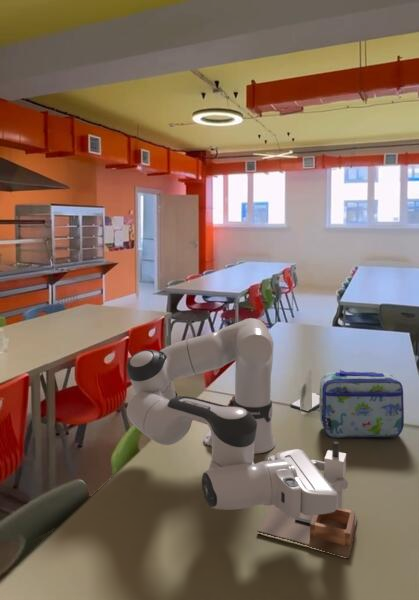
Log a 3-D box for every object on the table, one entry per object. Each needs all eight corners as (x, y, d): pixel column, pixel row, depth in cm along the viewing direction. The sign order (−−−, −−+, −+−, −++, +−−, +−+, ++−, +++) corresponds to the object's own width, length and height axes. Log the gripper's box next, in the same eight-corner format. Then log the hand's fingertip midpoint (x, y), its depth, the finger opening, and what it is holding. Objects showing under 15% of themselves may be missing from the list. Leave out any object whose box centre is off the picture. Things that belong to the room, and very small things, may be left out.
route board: (257, 534, 106) (257, 518, 105) (274, 500, 119) (274, 486, 118) (348, 559, 98) (349, 542, 98) (357, 520, 111) (357, 504, 110)
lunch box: (320, 439, 151) (322, 377, 148) (316, 425, 162) (318, 366, 158) (404, 442, 149) (408, 379, 145) (394, 427, 159) (398, 368, 155)
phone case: (309, 414, 172) (331, 401, 183) (309, 410, 172) (331, 397, 183) (288, 408, 178) (311, 395, 189) (288, 404, 178) (311, 391, 189)
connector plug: (322, 504, 104) (325, 445, 101) (326, 494, 107) (328, 437, 105) (341, 508, 102) (344, 448, 100) (344, 499, 106) (346, 440, 103)
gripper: (263, 470, 112) (318, 463, 114) (295, 524, 92) (360, 515, 95) (264, 445, 111) (319, 439, 113) (296, 494, 91) (362, 486, 93)
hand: (338, 474), depth 104 cm, fingers closed on connector plug, 6 cm apart
